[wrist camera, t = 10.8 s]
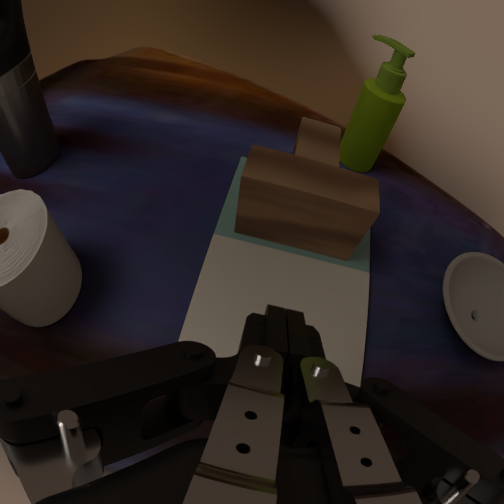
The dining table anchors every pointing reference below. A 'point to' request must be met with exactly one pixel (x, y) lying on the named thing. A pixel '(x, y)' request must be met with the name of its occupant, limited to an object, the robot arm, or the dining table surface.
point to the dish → (477, 302)
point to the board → (279, 291)
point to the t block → (306, 195)
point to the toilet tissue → (35, 262)
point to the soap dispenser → (375, 111)
